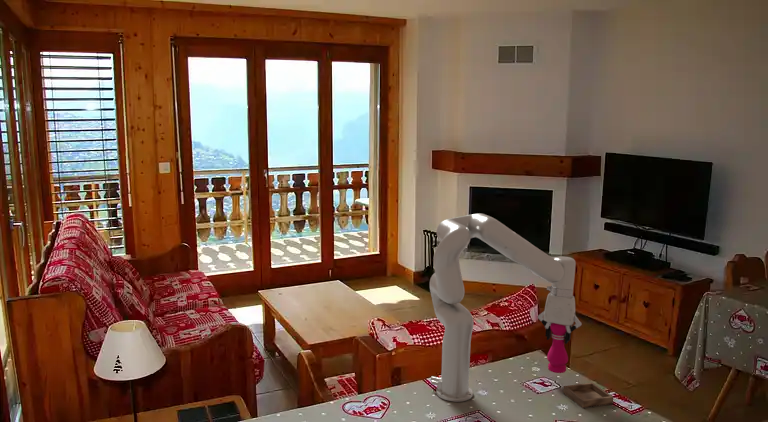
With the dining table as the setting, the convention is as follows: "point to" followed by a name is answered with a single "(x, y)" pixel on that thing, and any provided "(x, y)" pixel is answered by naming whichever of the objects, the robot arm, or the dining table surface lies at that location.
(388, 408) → the dining table surface
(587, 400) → the walnut tray
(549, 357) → the magenta pepper mill
